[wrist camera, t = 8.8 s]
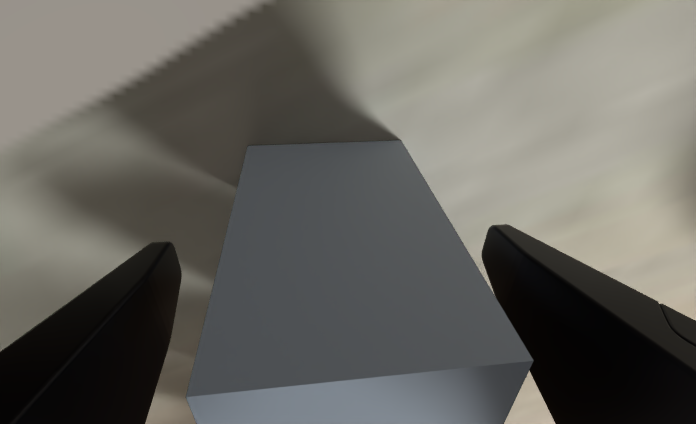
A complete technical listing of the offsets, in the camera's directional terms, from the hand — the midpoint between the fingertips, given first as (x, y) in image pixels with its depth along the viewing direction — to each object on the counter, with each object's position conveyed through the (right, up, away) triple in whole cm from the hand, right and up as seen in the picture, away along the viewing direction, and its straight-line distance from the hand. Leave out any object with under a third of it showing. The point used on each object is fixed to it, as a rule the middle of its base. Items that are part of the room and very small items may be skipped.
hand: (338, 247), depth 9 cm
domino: (0, +2, +3) cm, 4 cm away
